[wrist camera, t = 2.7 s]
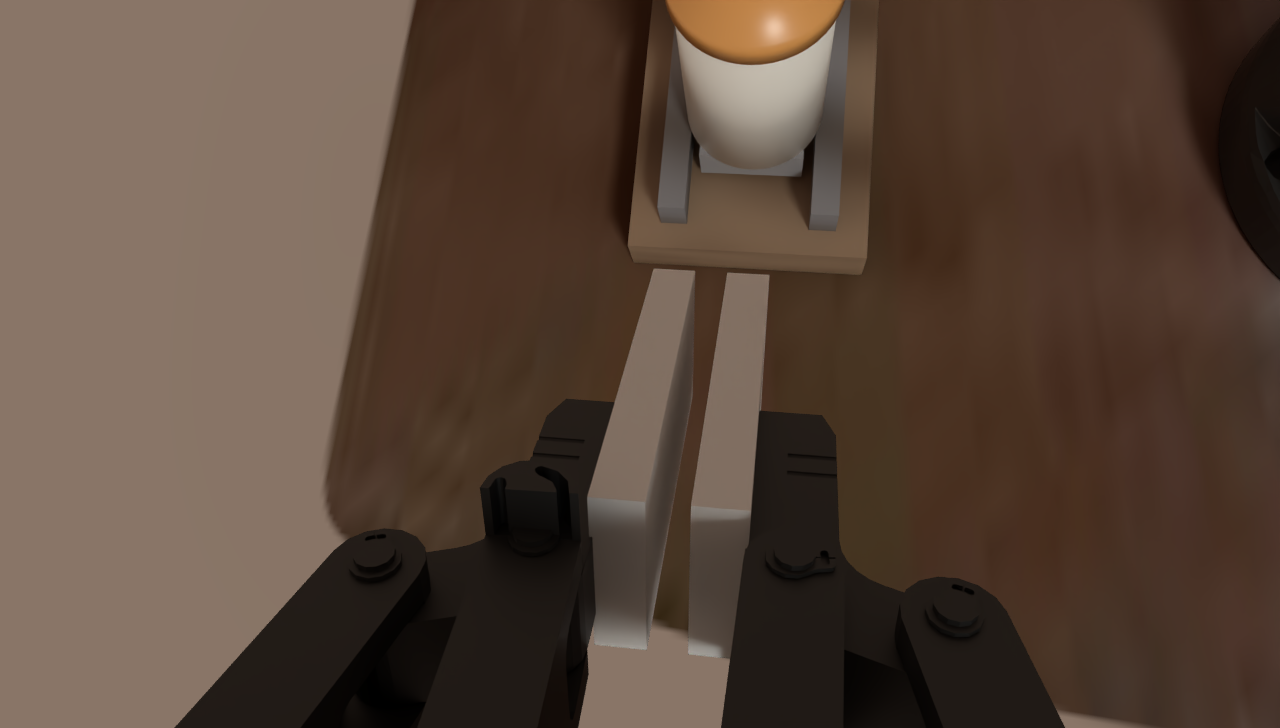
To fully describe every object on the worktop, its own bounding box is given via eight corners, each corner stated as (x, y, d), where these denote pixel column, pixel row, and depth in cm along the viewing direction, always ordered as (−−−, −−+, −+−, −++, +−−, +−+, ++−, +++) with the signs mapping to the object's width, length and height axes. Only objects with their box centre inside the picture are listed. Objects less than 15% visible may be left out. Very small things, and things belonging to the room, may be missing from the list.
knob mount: (861, 274, 39) (877, 225, 34) (633, 262, 41) (616, 212, 35) (882, -165, 44) (899, -269, 39) (676, -165, 45) (666, -266, 40)
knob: (821, 194, 38) (846, 49, 28) (678, 188, 39) (652, 44, 29) (829, 64, 39) (855, -121, 29) (690, 60, 40) (669, -122, 30)
